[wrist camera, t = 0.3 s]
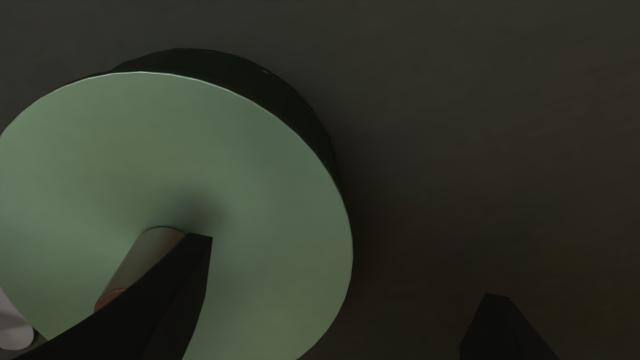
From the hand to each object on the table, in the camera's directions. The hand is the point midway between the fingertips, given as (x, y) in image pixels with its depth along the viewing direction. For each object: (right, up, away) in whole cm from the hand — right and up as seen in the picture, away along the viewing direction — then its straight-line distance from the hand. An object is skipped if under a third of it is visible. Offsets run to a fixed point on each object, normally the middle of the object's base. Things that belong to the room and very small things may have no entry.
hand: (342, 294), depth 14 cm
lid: (-6, +1, +5) cm, 8 cm away
